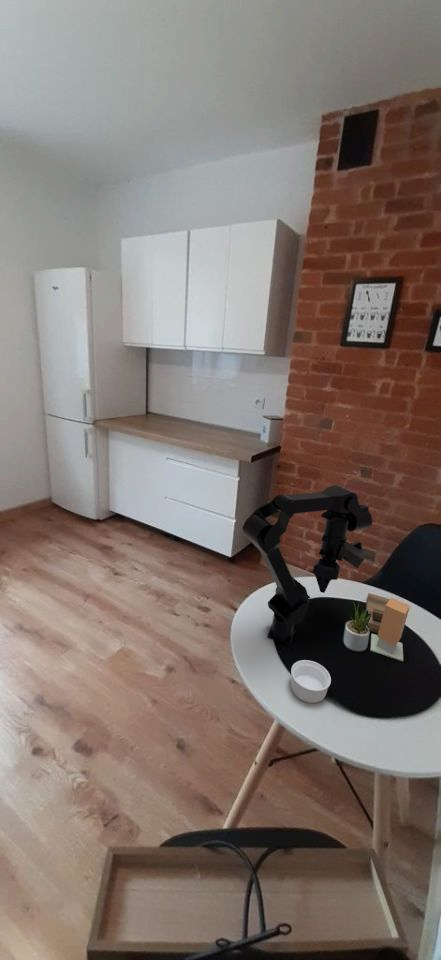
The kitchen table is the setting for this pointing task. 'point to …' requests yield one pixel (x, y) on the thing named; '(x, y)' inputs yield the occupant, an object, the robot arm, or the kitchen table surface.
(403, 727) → the kitchen table surface
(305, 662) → the ramekin
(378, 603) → the header
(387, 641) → the orange rectangular block
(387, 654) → the mat
